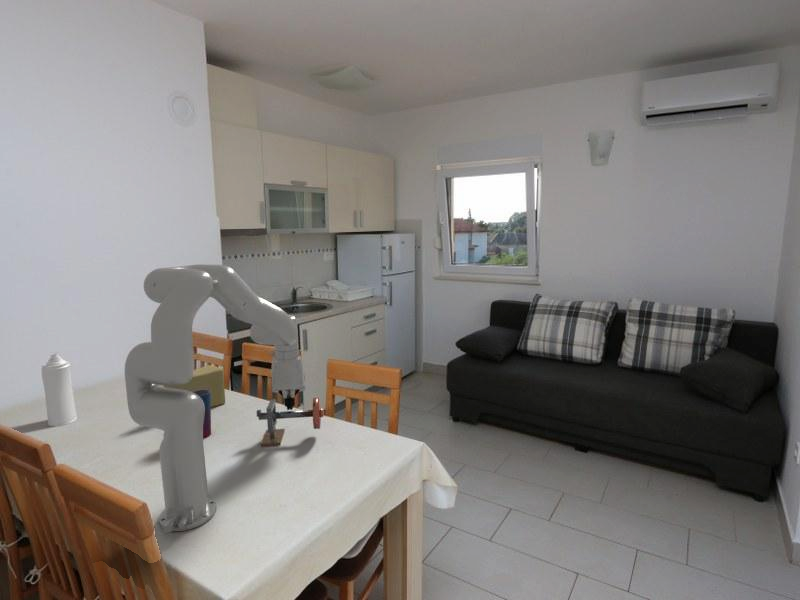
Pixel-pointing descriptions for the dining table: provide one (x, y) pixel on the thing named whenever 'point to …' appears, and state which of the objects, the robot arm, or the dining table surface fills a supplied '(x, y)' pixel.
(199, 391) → the cup
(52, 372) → the spray can
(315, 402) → the copper disc on rod
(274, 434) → the eye post
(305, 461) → the dining table surface
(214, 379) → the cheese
